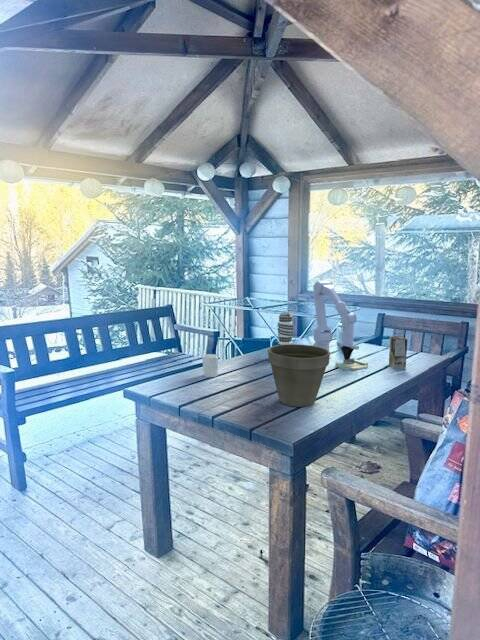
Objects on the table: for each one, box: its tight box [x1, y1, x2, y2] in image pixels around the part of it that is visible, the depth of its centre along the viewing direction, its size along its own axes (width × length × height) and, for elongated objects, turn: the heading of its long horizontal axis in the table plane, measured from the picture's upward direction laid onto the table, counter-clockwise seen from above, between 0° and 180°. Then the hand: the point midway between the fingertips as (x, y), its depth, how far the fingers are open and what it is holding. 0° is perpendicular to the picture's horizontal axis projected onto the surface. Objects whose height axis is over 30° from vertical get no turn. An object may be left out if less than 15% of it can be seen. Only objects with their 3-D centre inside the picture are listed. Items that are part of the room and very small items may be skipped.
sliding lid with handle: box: [342, 357, 369, 371], centre depth 240 cm, size 9×10×4 cm
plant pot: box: [267, 343, 331, 408], centre depth 187 cm, size 25×25×22 cm
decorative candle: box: [277, 312, 294, 345], centre depth 266 cm, size 9×9×25 cm
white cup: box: [201, 353, 219, 378], centre depth 226 cm, size 8×8×10 cm
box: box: [335, 358, 369, 371], centre depth 241 cm, size 9×15×2 cm, turn 121°
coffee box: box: [388, 335, 408, 370], centre depth 240 cm, size 9×6×16 cm
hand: (347, 360), depth 244 cm, fingers closed
